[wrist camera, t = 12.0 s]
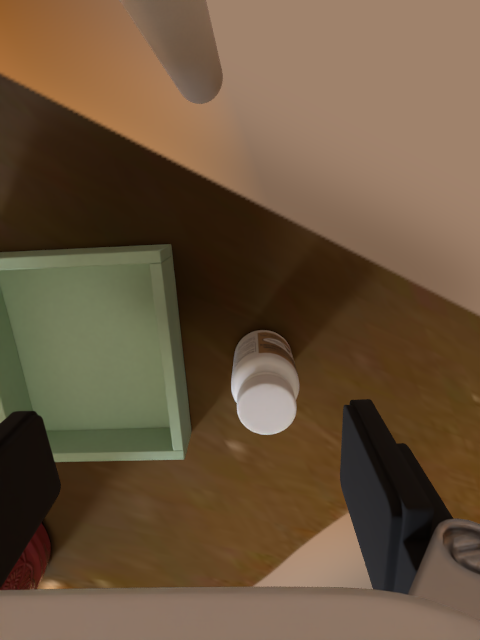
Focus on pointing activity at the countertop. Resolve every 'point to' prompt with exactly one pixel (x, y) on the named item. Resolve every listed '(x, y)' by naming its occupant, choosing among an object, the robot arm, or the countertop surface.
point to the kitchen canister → (30, 563)
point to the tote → (95, 351)
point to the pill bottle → (264, 382)
